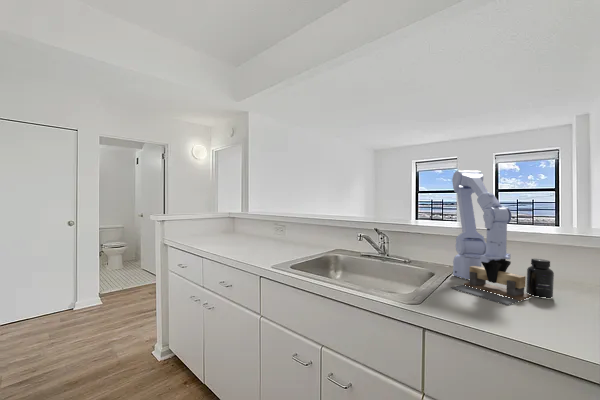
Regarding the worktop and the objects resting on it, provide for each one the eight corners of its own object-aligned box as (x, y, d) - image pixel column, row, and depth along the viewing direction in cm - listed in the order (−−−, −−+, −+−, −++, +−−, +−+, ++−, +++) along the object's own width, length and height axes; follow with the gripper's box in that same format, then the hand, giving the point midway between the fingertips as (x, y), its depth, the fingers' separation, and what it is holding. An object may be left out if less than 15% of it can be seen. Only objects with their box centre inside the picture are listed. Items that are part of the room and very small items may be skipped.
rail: (469, 276, 104) (469, 266, 104) (475, 275, 106) (475, 265, 106) (519, 288, 90) (519, 277, 90) (525, 287, 91) (525, 276, 91)
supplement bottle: (543, 300, 90) (543, 262, 90) (521, 293, 96) (521, 258, 96) (558, 298, 92) (559, 261, 92) (536, 292, 98) (536, 257, 98)
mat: (450, 288, 100) (450, 287, 100) (462, 285, 104) (462, 284, 104) (507, 305, 85) (507, 304, 85) (519, 301, 88) (519, 300, 88)
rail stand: (463, 285, 104) (463, 270, 104) (474, 283, 107) (475, 268, 107) (520, 301, 88) (520, 283, 88) (531, 298, 91) (531, 281, 91)
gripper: (497, 244, 91) (496, 287, 91) (520, 242, 98) (519, 282, 98) (474, 241, 97) (474, 281, 97) (498, 239, 104) (497, 276, 104)
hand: (495, 281), depth 98 cm, fingers closed on rail, 3 cm apart
